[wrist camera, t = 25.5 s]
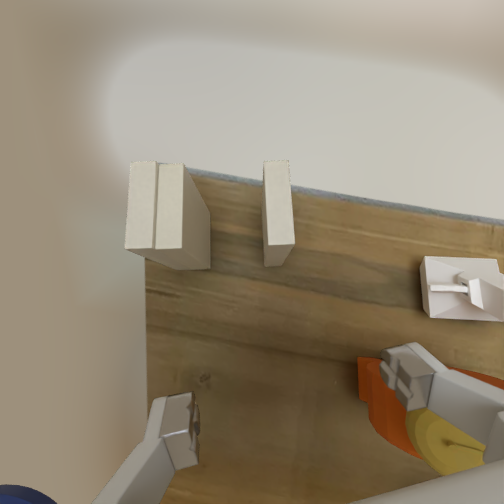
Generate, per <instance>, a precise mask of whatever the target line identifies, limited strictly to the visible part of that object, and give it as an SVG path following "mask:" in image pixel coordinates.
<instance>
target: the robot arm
mask: <svg viewBox="0 0 504 504" xmlns="http://www.w3.org/2000/svg"><path fill="white" fill-rule="evenodd" d="M380 357H381V358H382V359H383V360H382V361H381V363H380V364H379V371H380V375H381V378H382V379H383V381H384V383H385V384H386V385H387V387H388V388H390V389H392V390H394V391H395V396H396V398H397V399H398V401H399V402H400V403H401V404H402V406H403V407H404V408H405V409H406V411H407V412H408V411H413V410H418V409H422V408H427V407H428V408H427V409H429V410H430V411H432V412H433V413H435V414H436V415H438V416H440V417H441V418H443V419H444V420H446V421H447V422H449V423H450V424H452V425H454V426H455V427H457V428H458V429H460V430H461V431H463V432H464V433H466V434H468V435H469V436H471V437H472V438H474V439H475V440H477V441H478V442H480V443H482V444H483V445H485V446H486V447H485V450H484V453H483V456H482V460H483V462H484V463H485V465H481V466H478V467H474V468H471V469H467V470H464V471H460V472H457V473H453V474H450V475H446V476H443V477H439V478H436V479H432V480H429V481H425V482H422V483H418V484H415V485H411V486H408V487H404V488H401V489H397V490H394V491H390V492H387V493H383V494H380V495H376V496H373V497H369V498H366V499H362V500H359V501H355V502H352V503H348V504H504V390H503V389H500V388H498V387H495V386H493V385H490V384H488V383H485V382H483V381H480V380H478V379H476V378H473V377H471V376H468V375H466V374H463V373H461V372H458V371H456V370H454V369H451V370H449V369H448V368H447V367H445V366H444V365H443V364H442V363H441V362H440V361H438V360H437V359H436V358H435V357H434V356H433V355H431V354H430V353H429V352H428V351H427V350H426V349H424V348H423V347H422V346H421V345H420V344H418V343H416V342H412V343H407V344H404V345H398V346H394V347H389V348H385V349H382V350H381V353H380ZM195 399H196V397H195V394H194V391H190V392H185V393H179V394H174V395H169V396H165V397H159V398H155V399H154V401H153V403H152V406H151V410H150V414H149V418H148V422H147V426H146V431H145V434H144V438H143V442H141V443H138V444H137V446H136V447H135V448H134V450H133V451H132V452H131V453H130V455H129V456H128V457H127V459H126V460H125V461H124V462H123V464H122V465H121V466H120V467H119V469H118V470H117V471H116V473H115V474H114V475H113V476H112V478H111V479H110V480H109V481H108V483H107V484H106V485H105V487H104V488H103V489H102V490H101V492H100V493H99V494H98V496H97V497H96V498H95V499H94V501H93V502H92V503H91V504H159V503H160V501H161V499H162V497H163V495H164V494H165V492H166V490H167V488H168V486H169V484H170V482H171V480H172V478H173V476H174V474H175V471H176V470H179V469H183V468H186V467H190V466H194V465H197V464H199V446H200V444H199V440H198V437H197V436H198V435H199V433H200V413H199V408H198V405H197V404H195Z"/></svg>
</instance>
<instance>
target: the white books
mask: <svg viewBox="0 0 504 504" xmlns="http://www.w3.org/2000/svg"><path fill="white" fill-rule="evenodd" d="M125 249H126V250H128V251H131V252H133V253H135V254H138V255H140V256H143V257H145V258H148V259H150V260H153V261H155V262H158V263H160V264H163V265H165V266H168V267H170V268H172V269H175V270H197V269H210V268H211V261H210V212H209V210H208V208H207V206H206V205H205V203H204V201H203V199H202V197H201V195H200V193H199V191H198V190H197V188H196V186H195V184H194V182H193V180H192V178H191V177H190V175H189V173H188V171H187V169H186V167H185V165H184V164H183V163H182V164H160V165H158V163H157V162H156V161H151V162H150V161H149V162H131V167H130V181H129V195H128V209H127V223H126V236H125Z"/></svg>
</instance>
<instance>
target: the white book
mask: <svg viewBox="0 0 504 504" xmlns="http://www.w3.org/2000/svg"><path fill="white" fill-rule="evenodd" d="M262 228H263V248H264V266H265V267H267V266H282V264H283V262H284V261H285V259H286V258H287V256H288V254H289V253H290V251H291V250H292V248H293V246H294V245H295V236H294V224H293V211H292V198H291V185H290V172H289V161H288V160H282V161H264V166H263V190H262Z"/></svg>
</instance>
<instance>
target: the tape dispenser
mask: <svg viewBox="0 0 504 504" xmlns="http://www.w3.org/2000/svg"><path fill="white" fill-rule="evenodd" d="M420 278H421V289H422V300H423V309H424V311H425V312H426V313H427V314H428V315H429V317H430V318H447V319H466V320H486V321H502V322H504V274H502V273H500V272H499V268H498V264H497V259H482V258H458V257H434V256H424V258H423V261H422V263H421V265H420Z"/></svg>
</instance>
